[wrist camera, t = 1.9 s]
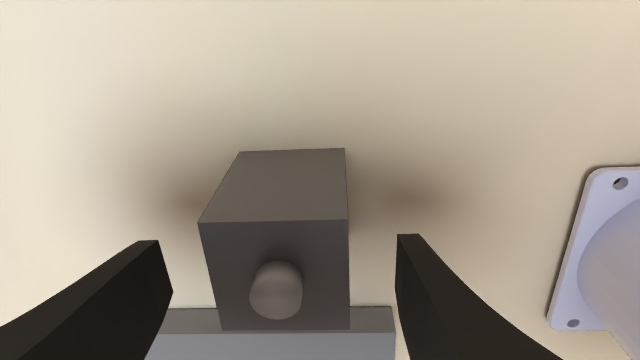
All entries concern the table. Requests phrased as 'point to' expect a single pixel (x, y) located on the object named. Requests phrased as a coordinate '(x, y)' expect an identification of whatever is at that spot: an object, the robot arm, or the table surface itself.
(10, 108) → the table surface
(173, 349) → the socket plate
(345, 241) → the plug block
